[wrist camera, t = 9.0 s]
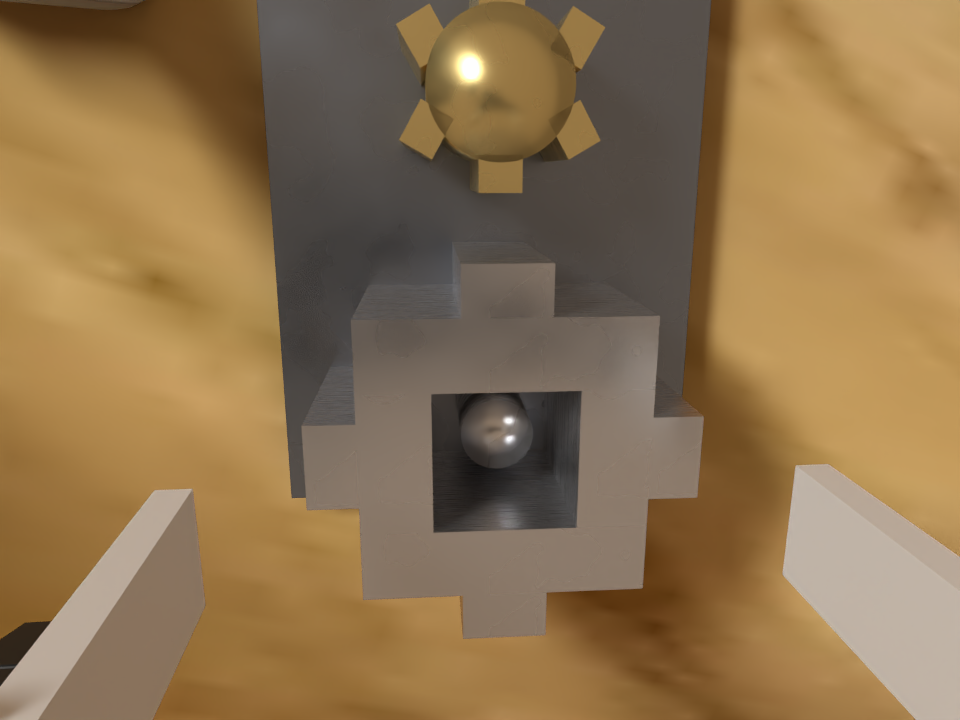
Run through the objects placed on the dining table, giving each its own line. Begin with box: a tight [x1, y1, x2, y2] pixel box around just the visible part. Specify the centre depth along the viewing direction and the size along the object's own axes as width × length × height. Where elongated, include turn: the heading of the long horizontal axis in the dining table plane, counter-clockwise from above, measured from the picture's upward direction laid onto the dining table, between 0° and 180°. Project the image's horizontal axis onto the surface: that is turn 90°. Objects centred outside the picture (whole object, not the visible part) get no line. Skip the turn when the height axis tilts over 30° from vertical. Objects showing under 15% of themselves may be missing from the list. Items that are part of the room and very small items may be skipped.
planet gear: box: [301, 242, 704, 639], centre depth 23 cm, size 11×11×6 cm
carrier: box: [257, 0, 711, 498], centre depth 22 cm, size 14×22×6 cm, turn 0°
